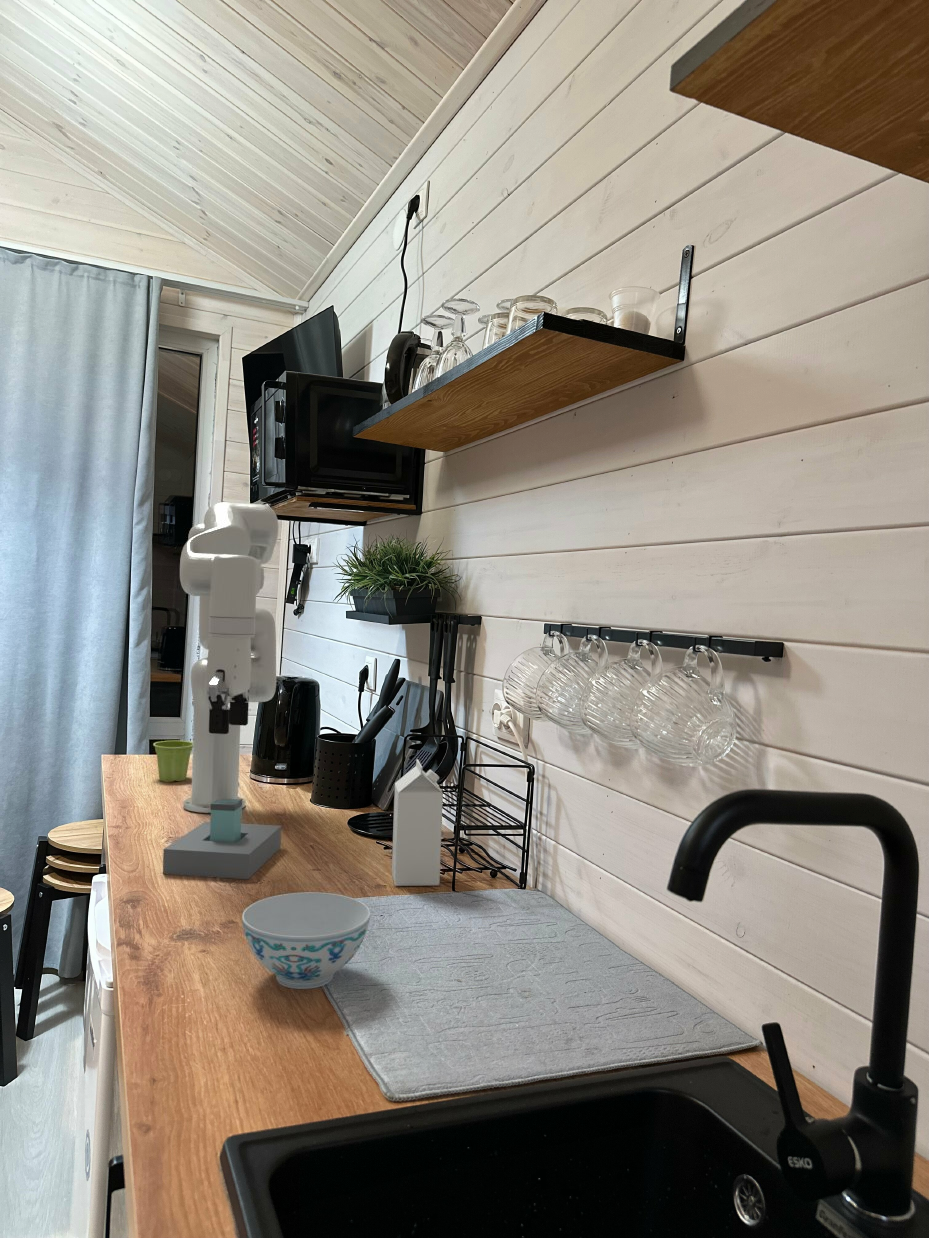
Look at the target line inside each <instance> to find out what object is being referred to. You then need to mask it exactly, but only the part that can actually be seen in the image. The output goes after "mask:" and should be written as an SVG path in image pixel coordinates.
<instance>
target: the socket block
mask: <svg viewBox="0 0 929 1238" xmlns="http://www.w3.org/2000/svg"><path fill="white" fill-rule="evenodd" d="M210 823H211V821H203V822H202V823H200V824H199V825H197V826H195V828H193V829H191V830H190V831H188V832H187V833H186V834H184V835H182V836H181V837H180V838H177V840H175V841H174V842H172V843H170V844H169V845H167V846H166V847H164V848H163V852H162V853H163V855H162V857H163V859H162V863H163V864H162V874H164V875H174V876H188V877H189V876H191V877H207V878H208V877H209V878H220V879H221V878H223V879H236V880H238V879H239V880H249V879H250V878H252V876H253V875H254V874H256V872H258V871H259V870H260V869H261V868H262V867H263V866H264V865H265V864H266V863H267V862H268V861H269V860H270V859H271V858H272V857H273V856H274V855H275V854H276V853H277V852H278V851H279V850H280V849H281V844H282V839H281V838H282V825H271V824H267V825H266V824H254V823H253V824H252V823H250V824H249V823H241V840H240V841H239V842H237V843H235V842H218V841H210Z"/></svg>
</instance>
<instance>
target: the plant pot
mask: <svg viewBox="0 0 929 1238" xmlns="http://www.w3.org/2000/svg"><path fill="white" fill-rule="evenodd" d="M152 745H153V747H154V749H155V753H156V759H157V760H156V761H157V769H158V770H157V771H158V779H159V780H160V781H161V782H165V783H167V782H168V783H172V782H176V781H177V782H183V781H185V780H186V779H187V776H188V775H187V774H188V771H189V770H188V769H189V765H190V764H189V763H190V757H191V753H193V741H190V740H189V741H188V740H164V741H163V740H161V741H156V742H153V744H152Z"/></svg>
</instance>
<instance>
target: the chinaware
mask: <svg viewBox="0 0 929 1238" xmlns="http://www.w3.org/2000/svg"><path fill="white" fill-rule="evenodd" d="M241 915H242V916H241V920H242V927H243V932H244V935H245V939H246V941H247V944H248V946H249V949H250V950H251V952H252V954H253V956H254V957H255V959H256V960H258V962H259V963H260V964H261V965H262V966H263V967H264V968H265V969H266V970H268V971H269V972H271V973H272V974H274V975H275V977H276V978H275V979H276V981H277V983H278V984H279V985H281V986H284V987H285V988H289V989H294V990H309V989H311V990H312V989H316V988H320V987H322V986H325V985H327V984H328V983H330V982H331V981H332V980H333V978H334V974H335V973H336V972H338V971H339V970H341V969H342V968H343V967H344V966H346V965H347V964H348V963H349V962H350V961H351V959H353V957H354V956H355V955H356V953H357V952H358V950H359V949H360V947H361V945H362V944H363V940H364V939H365V937H366V934H367V931H368V927H369V923H370V918H371V910H370V908H369V907H368V906H367V904H365V903H364V902H362V901H360V900H358V899H356V898H353V897H350V896H347V895H341V894H337V893H330V892H316V891H315V892H314V891H312V892H310V891H308V892H306V891H305V892H294V893H293V892H291V893H284V894H279V895H278V894H277V895H274V896H269V897H265V898H263V899H260V900H258V901H256V902H254V903H252V904H250V905H249V906H248V907H246V908H245V909H244V911H243V912H242V914H241Z"/></svg>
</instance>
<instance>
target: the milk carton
mask: <svg viewBox="0 0 929 1238" xmlns="http://www.w3.org/2000/svg"><path fill="white" fill-rule="evenodd" d="M415 761H416V762H415V763H416V764H415V766H414V767H413V768H411V769H410V770H408V772H407V773H406V774H404V775H403V776H402V777H400V779H398V780H397V781H395V783H394V799H393V822H392V823H393V826H392V828H393V829H392V831H393V832H392V854H391V858H392V860H391V875H392V879H393V883H394V886H395V887H402V886H404V887H409V886H411V887H412V886H414V887H415V886H423V887H424V886H440V882H441V881H440V878H441V877H440V876H441V850H442V849H441V848H442V847H441V846H442V827H443V826H442V824H443V822H442V821H443V820H442V819H443V801H444V800H443V799H444V797H443V795H444V794H443V790H442V788H440V785H438V783H437V782H438V781H439V780H440V776H439V775H438V774H437V773H435V771H433V770H432V769H429V770H427V772H425V771H424V770H423V766H422V764H421V761H420V760H419V758H418V759H415Z"/></svg>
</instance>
